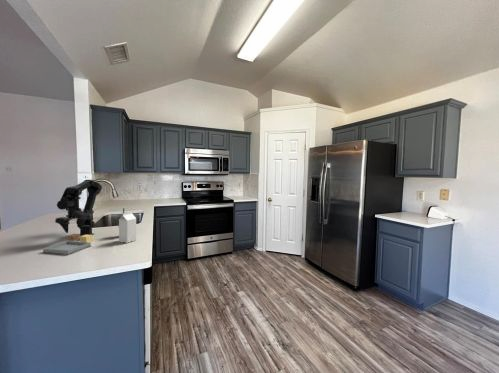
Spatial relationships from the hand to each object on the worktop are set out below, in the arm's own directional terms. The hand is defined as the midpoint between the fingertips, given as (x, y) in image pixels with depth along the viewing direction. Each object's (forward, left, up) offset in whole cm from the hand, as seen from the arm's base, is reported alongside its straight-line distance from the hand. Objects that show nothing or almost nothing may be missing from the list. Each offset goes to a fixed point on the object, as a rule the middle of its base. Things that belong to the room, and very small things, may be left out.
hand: (74, 230), depth 139 cm
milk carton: (-8, +32, -7) cm, 34 cm away
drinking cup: (-17, +22, -7) cm, 29 cm away
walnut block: (0, 0, -7) cm, 7 cm away
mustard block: (0, +9, -7) cm, 11 cm away
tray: (+13, +10, -7) cm, 18 cm away
